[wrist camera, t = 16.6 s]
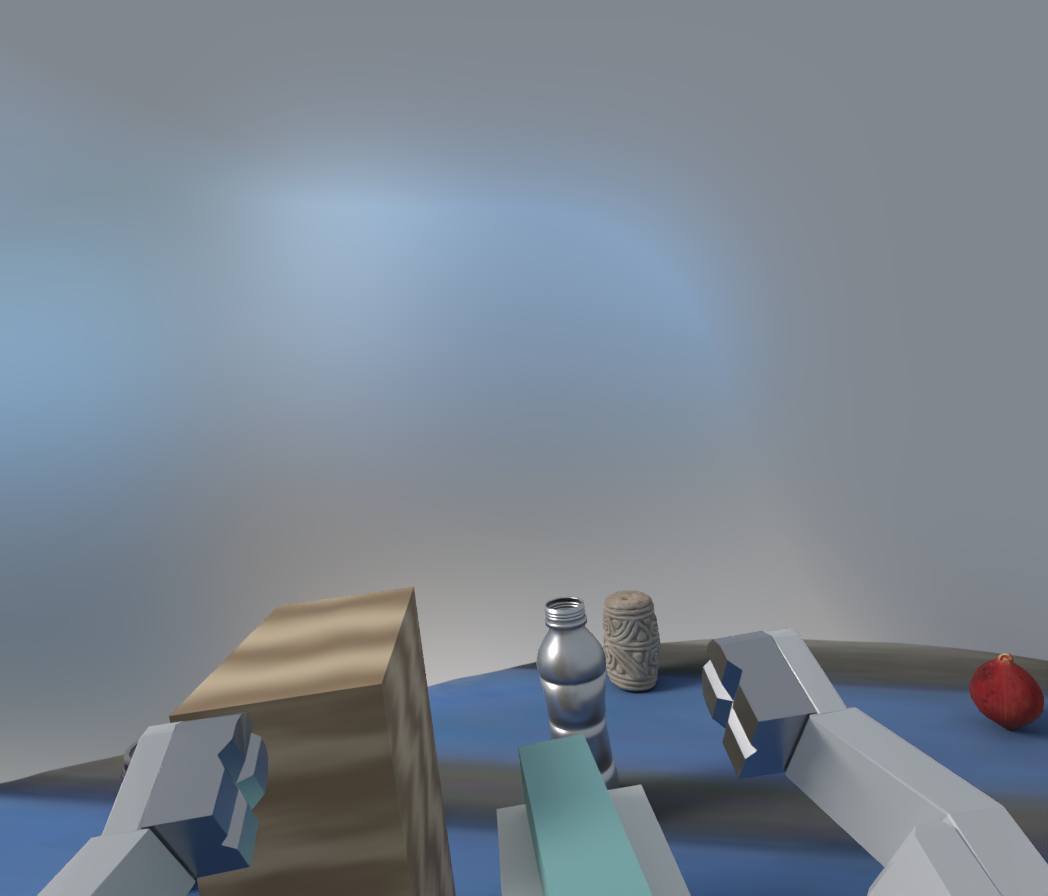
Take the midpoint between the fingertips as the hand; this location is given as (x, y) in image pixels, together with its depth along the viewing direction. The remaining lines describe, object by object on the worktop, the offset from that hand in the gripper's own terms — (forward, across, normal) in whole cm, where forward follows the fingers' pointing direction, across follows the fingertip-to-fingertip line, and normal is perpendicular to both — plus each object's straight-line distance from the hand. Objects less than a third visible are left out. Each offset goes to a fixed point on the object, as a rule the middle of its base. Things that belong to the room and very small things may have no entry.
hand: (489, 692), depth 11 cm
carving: (+38, +19, -62) cm, 76 cm away
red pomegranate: (+20, +52, -51) cm, 75 cm away
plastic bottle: (+19, +8, -51) cm, 55 cm away
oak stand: (+5, -10, -43) cm, 44 cm away
